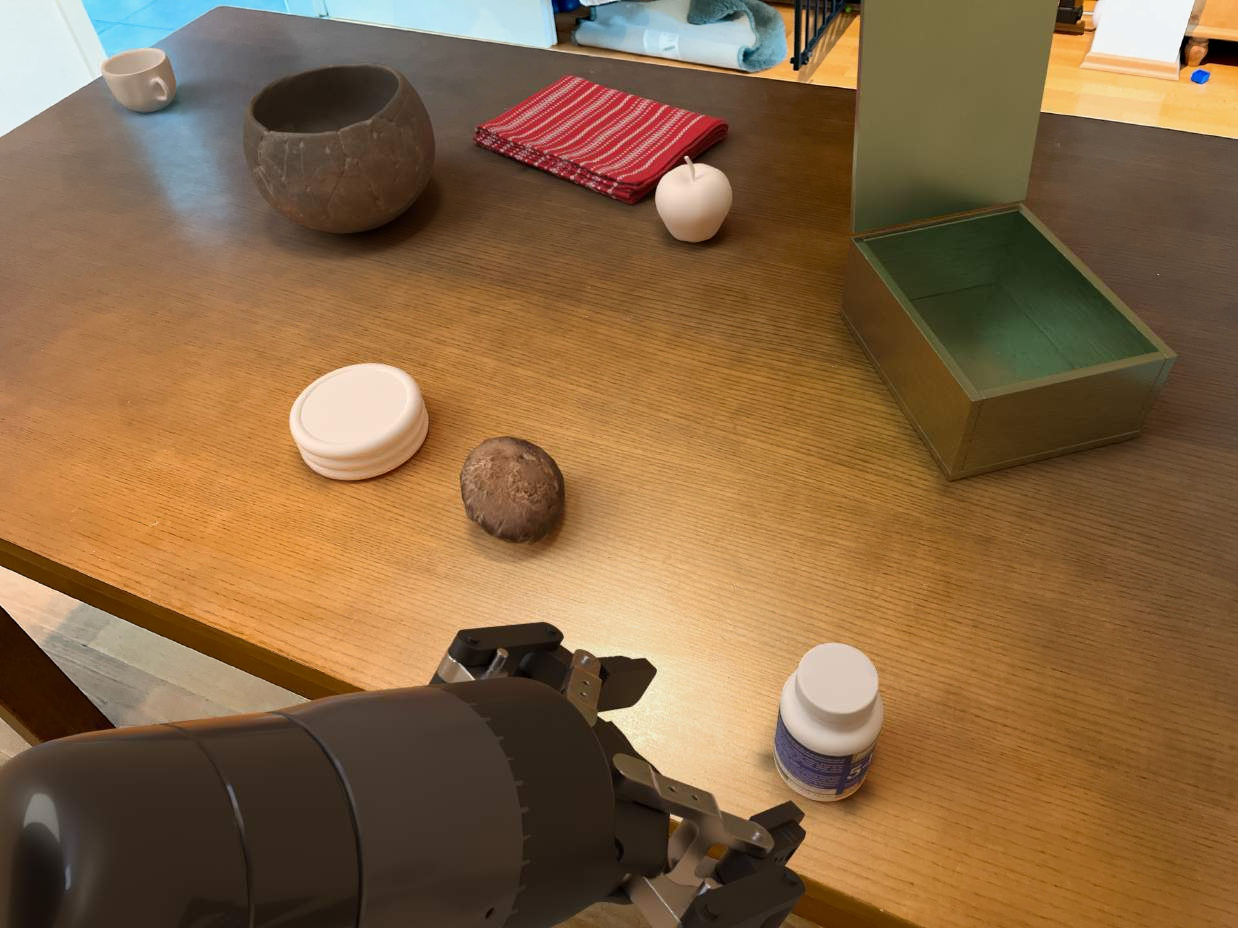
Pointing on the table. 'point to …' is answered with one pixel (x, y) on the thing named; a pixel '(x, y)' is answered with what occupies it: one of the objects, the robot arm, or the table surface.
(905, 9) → the box lid
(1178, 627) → the table surface
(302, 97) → the bowl
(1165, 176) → the table surface
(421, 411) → the white round flat piece
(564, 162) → the dish towel
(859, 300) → the open box
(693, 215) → the plain white apple
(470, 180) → the table surface
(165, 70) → the teacup
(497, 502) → the mushroom
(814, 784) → the pill bottle
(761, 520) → the table surface
